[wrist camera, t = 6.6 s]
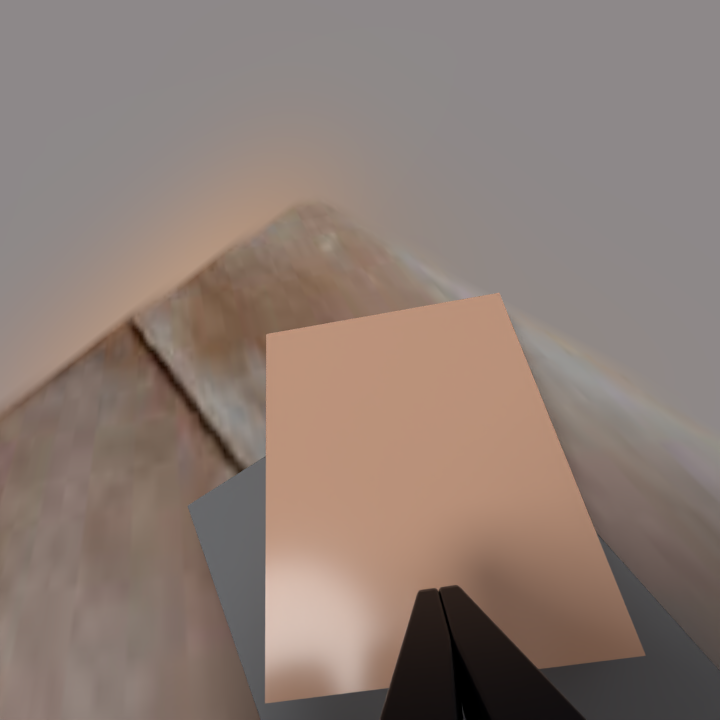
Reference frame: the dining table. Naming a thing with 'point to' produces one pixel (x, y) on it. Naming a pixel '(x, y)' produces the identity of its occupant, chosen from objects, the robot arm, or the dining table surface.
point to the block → (420, 499)
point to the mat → (363, 709)
